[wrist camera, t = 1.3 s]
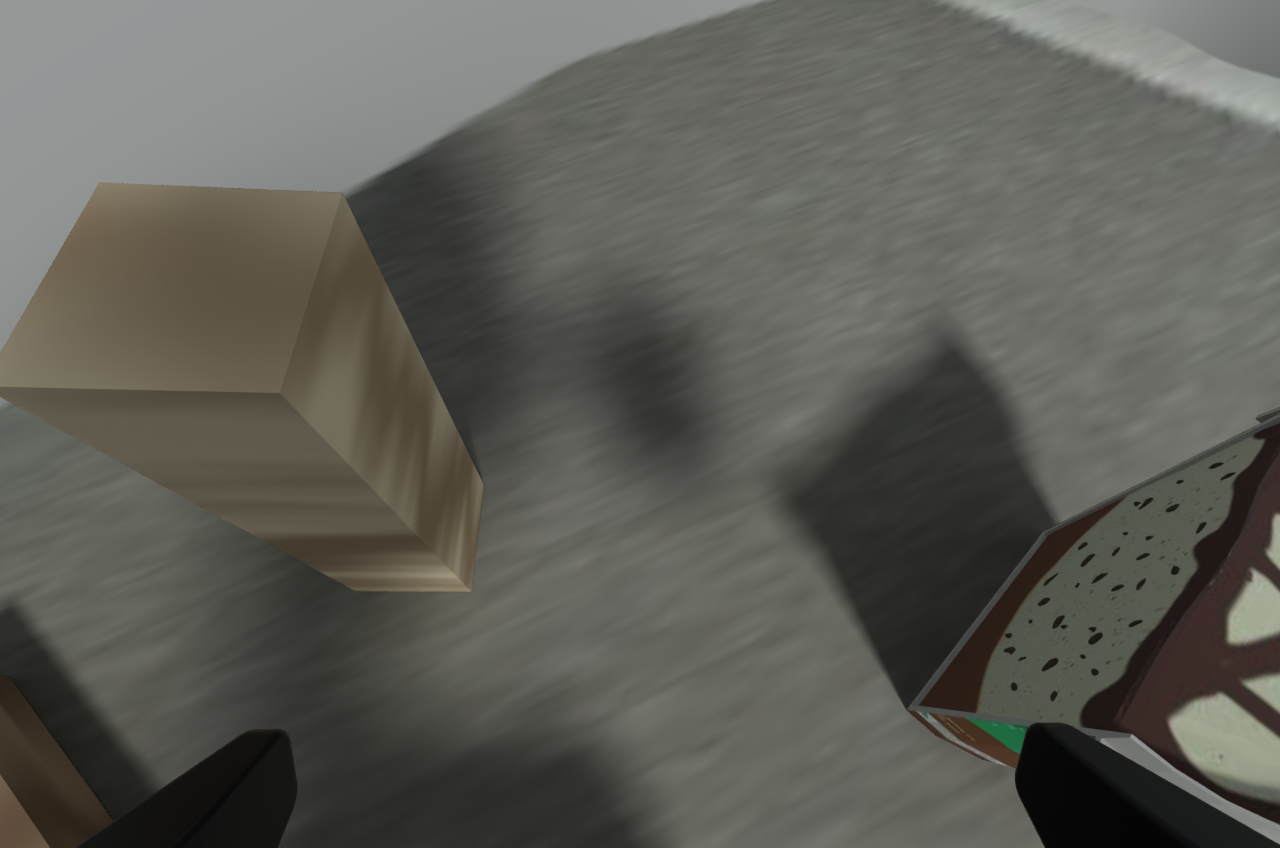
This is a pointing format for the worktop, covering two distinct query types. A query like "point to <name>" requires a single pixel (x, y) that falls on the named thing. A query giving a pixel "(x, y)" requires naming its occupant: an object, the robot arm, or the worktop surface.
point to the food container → (1143, 634)
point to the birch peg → (254, 378)
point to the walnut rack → (40, 783)
